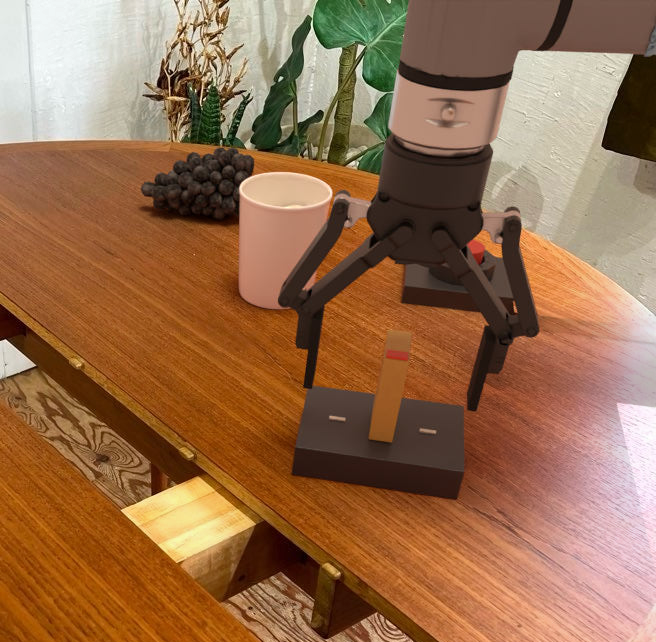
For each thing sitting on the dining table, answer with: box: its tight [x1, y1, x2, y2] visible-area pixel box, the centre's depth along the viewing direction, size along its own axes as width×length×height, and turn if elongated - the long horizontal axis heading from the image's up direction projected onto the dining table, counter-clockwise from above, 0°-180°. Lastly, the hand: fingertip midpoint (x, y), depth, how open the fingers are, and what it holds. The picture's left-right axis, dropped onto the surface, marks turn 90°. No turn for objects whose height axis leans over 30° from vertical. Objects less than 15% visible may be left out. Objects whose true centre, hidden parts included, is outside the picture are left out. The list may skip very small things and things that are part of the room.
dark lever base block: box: [291, 385, 466, 500], centre depth 85 cm, size 14×10×3 cm
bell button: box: [467, 239, 486, 265], centre depth 107 cm, size 4×4×2 cm
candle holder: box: [238, 171, 333, 310], centre depth 105 cm, size 10×10×12 cm
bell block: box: [400, 249, 515, 316], centre depth 109 cm, size 12×10×4 cm
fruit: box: [140, 147, 255, 220], centre depth 124 cm, size 9×8×15 cm
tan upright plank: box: [369, 329, 413, 443], centre depth 81 cm, size 5×2×8 cm, turn 166°
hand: (389, 391), depth 82 cm, fingers open, 13 cm apart
